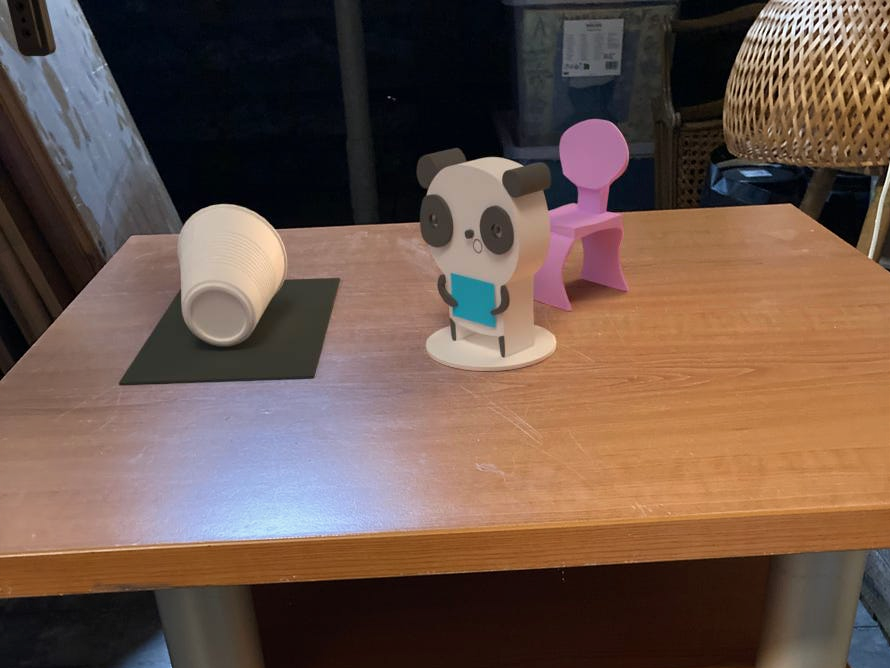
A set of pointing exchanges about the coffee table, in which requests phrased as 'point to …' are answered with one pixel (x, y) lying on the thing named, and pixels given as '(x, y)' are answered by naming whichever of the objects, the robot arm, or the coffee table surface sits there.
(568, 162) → the toy chair
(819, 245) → the coffee table surface
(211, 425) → the coffee table surface
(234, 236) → the cup
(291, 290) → the mat
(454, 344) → the panda figurine
